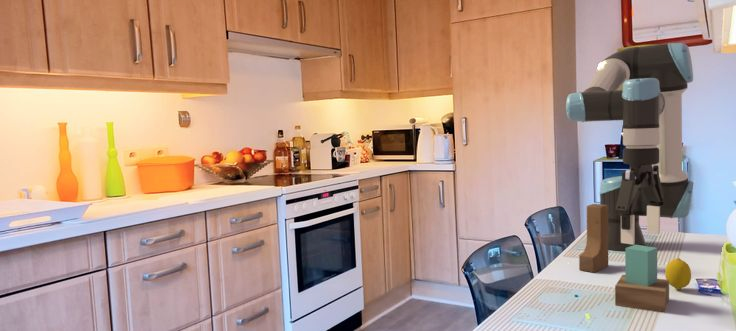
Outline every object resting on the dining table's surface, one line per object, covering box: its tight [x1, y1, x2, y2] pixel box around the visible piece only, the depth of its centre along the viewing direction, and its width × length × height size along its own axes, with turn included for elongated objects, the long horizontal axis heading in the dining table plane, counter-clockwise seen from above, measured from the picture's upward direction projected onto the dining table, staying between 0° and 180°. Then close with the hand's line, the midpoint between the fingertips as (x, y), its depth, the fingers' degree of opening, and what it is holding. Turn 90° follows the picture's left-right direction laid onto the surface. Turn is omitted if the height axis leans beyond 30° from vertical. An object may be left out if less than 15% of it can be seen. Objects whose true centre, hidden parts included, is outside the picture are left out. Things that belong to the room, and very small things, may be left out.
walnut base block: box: [614, 274, 670, 314], centre depth 126 cm, size 10×10×5 cm
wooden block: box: [578, 203, 609, 273], centre depth 154 cm, size 9×4×18 cm, turn 131°
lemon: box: [664, 257, 692, 291], centre depth 133 cm, size 6×6×8 cm
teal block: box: [624, 245, 658, 287], centre depth 126 cm, size 5×5×8 cm
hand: (640, 238), depth 126 cm, fingers open, 13 cm apart
